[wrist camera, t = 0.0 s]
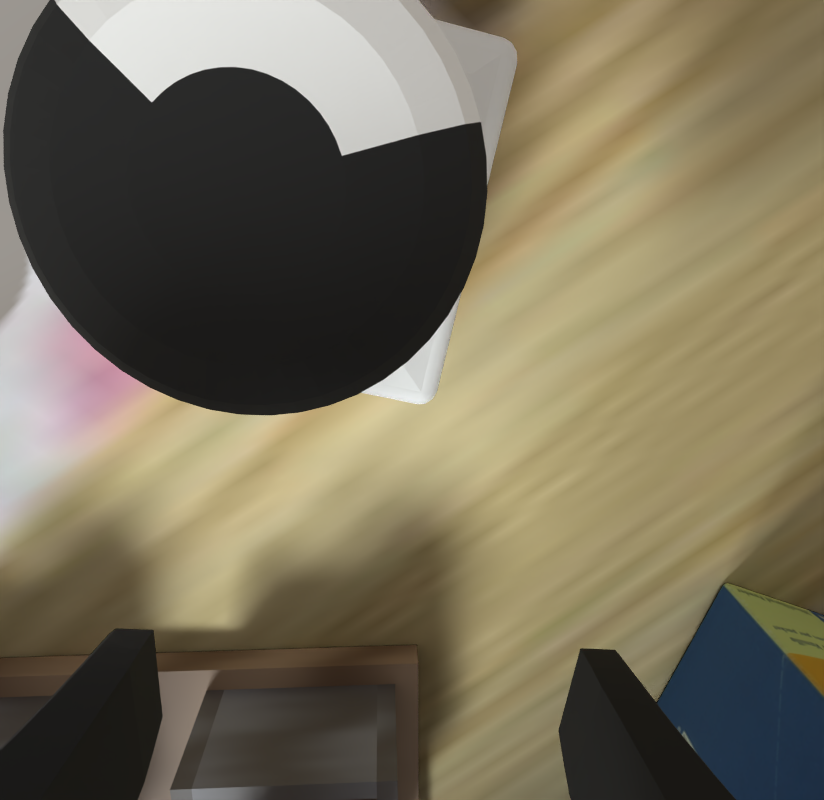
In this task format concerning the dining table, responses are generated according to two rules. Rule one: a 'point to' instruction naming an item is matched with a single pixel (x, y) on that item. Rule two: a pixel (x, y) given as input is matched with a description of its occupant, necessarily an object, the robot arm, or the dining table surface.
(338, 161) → the medicine bottle
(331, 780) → the wooden cubby shelf
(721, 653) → the protein box
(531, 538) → the dining table surface
